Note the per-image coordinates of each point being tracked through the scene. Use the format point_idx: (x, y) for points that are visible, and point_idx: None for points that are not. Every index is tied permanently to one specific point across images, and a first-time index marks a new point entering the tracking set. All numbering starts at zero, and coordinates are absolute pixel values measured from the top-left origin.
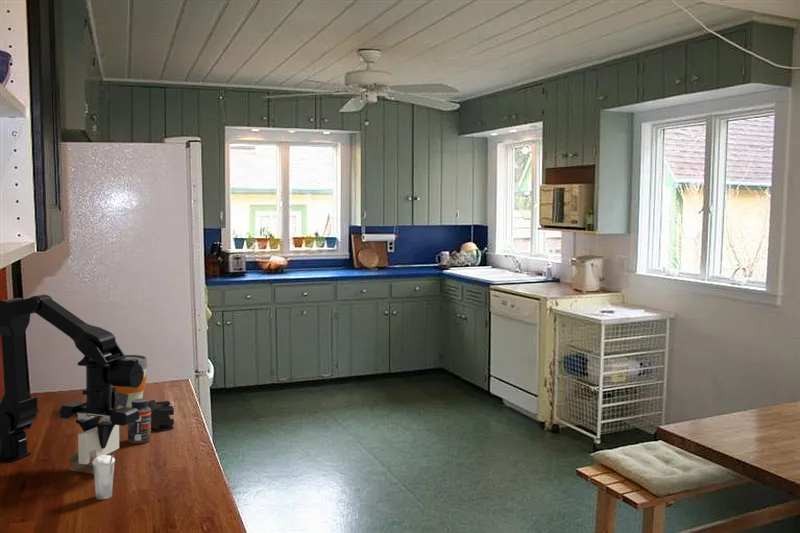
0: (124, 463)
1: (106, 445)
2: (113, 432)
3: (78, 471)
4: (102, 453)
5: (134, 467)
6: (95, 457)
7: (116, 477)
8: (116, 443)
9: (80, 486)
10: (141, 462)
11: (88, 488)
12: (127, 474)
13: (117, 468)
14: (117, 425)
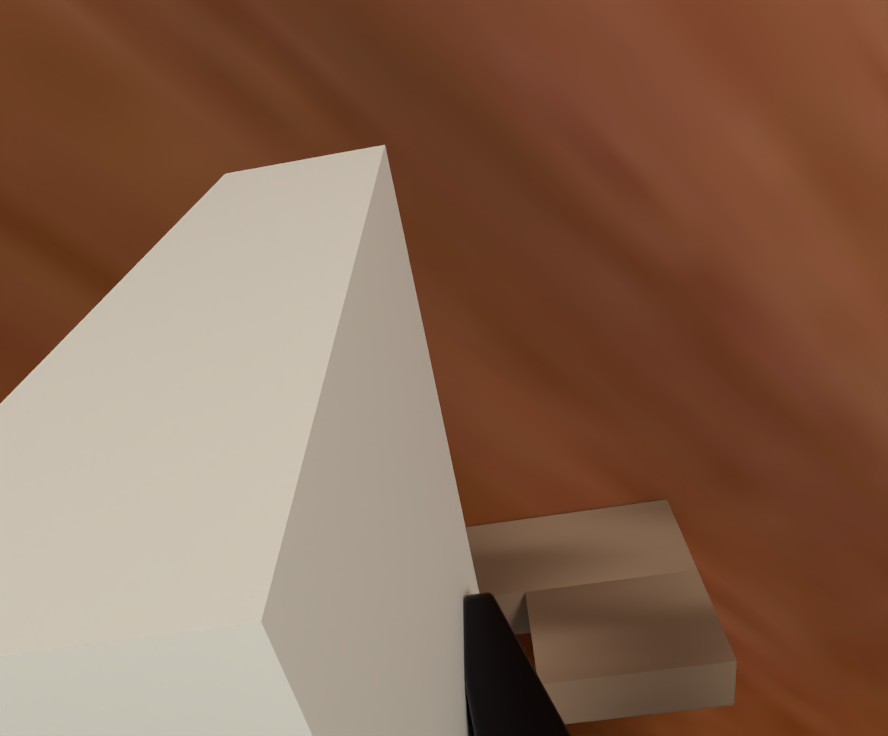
0: (592, 187)
1: (455, 564)
2: (410, 564)
3: None
4: (464, 554)
5: (826, 230)
6: (564, 722)
7: (798, 520)
8: (399, 276)
9: (628, 731)
10: (815, 17)
11: (716, 728)
12: (868, 424)
13: (633, 356)
14: (335, 540)
